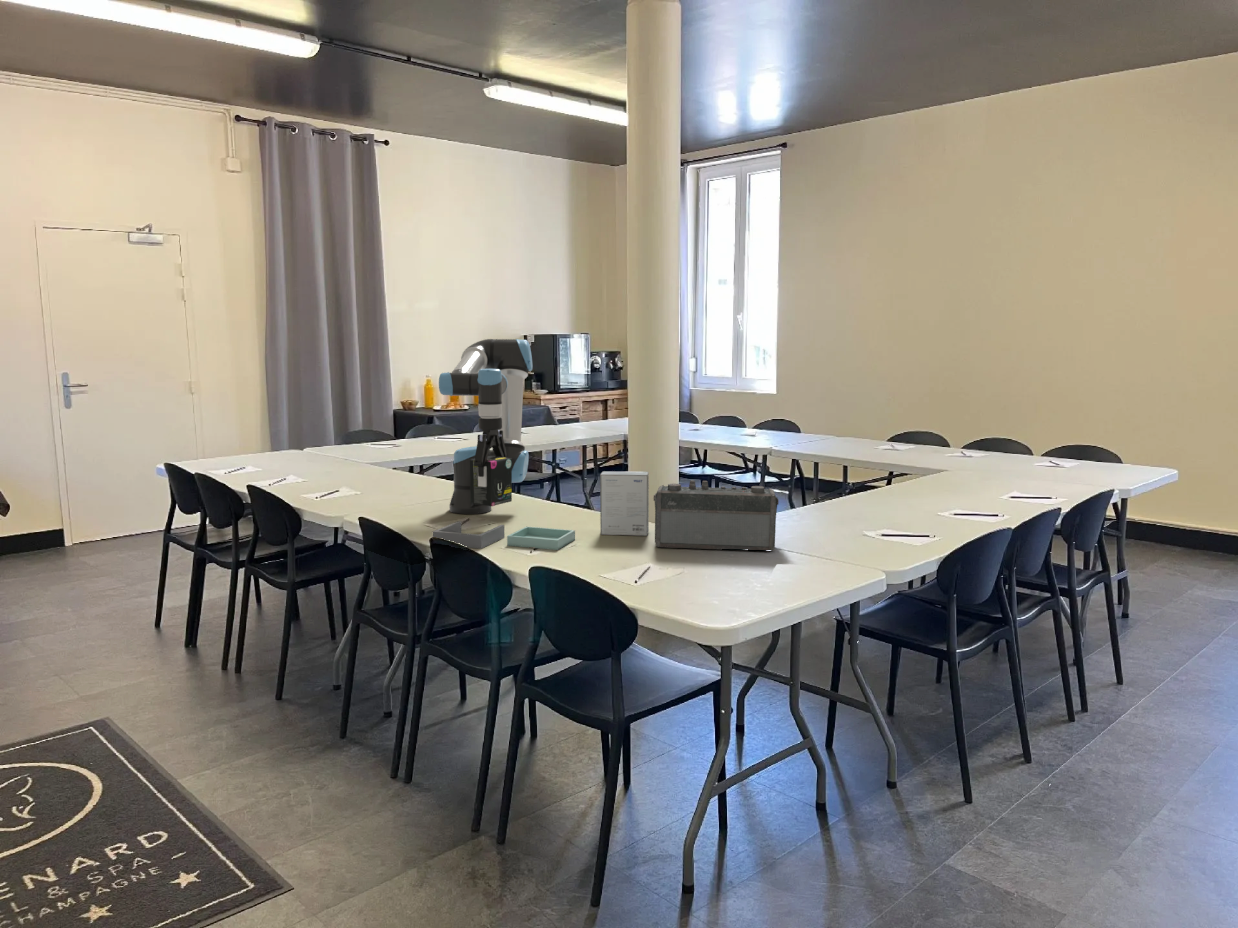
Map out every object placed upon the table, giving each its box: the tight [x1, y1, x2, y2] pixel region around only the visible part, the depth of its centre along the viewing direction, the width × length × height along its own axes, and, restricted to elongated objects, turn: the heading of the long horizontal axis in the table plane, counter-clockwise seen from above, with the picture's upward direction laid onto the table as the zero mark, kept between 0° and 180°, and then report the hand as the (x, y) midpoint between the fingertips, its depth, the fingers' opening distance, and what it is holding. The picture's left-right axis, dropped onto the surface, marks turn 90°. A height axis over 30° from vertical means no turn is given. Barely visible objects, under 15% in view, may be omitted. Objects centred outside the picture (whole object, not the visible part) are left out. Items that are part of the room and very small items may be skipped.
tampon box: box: [470, 456, 513, 507], centre depth 290 cm, size 11×9×15 cm
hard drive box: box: [599, 470, 650, 537], centre depth 289 cm, size 16×8×20 cm, turn 84°
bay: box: [432, 521, 506, 550], centre depth 277 cm, size 16×16×4 cm
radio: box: [653, 480, 780, 551], centre depth 273 cm, size 38×14×20 cm, turn 83°
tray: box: [506, 526, 576, 551], centre depth 276 cm, size 15×17×3 cm
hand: (491, 483), depth 290 cm, fingers closed on tampon box, 12 cm apart
